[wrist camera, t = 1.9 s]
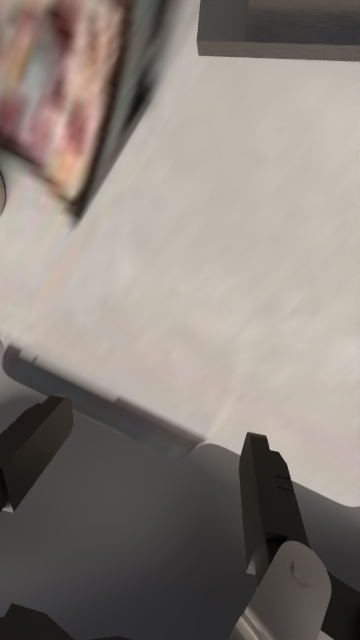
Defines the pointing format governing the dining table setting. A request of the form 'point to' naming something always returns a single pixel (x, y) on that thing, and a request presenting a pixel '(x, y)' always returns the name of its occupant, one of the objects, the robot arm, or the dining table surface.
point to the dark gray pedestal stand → (280, 29)
